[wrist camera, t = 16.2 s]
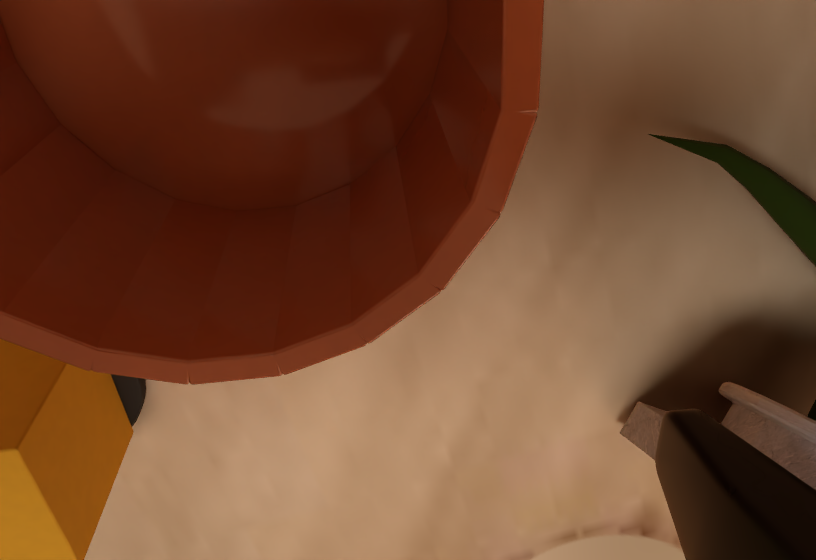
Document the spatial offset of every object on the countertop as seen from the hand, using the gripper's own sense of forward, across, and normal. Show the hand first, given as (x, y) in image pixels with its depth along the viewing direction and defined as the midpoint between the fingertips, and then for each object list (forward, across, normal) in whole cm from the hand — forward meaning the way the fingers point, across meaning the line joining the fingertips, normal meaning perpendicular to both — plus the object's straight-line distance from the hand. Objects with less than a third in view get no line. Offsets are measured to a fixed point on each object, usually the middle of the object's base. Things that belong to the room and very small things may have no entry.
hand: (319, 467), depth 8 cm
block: (+10, +10, +6) cm, 16 cm away
